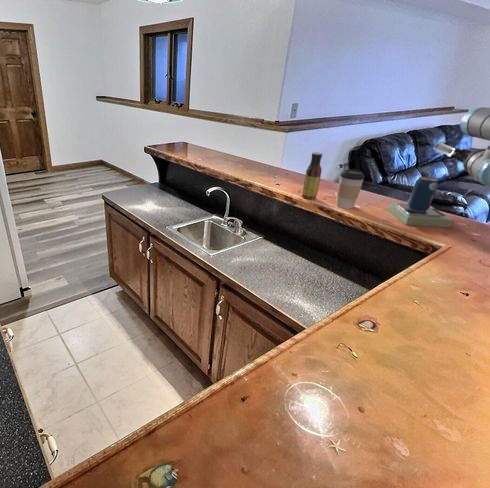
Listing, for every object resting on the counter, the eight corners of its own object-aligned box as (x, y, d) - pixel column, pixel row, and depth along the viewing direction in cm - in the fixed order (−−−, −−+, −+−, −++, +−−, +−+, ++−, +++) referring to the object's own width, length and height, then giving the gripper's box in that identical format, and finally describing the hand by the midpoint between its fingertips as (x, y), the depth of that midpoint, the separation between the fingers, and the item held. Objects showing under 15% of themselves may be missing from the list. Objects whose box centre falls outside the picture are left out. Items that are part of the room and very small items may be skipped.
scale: (428, 212, 141) (430, 205, 140) (449, 227, 128) (452, 219, 127) (388, 210, 143) (391, 203, 142) (405, 224, 130) (408, 216, 128)
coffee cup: (350, 211, 142) (359, 174, 135) (328, 205, 148) (337, 170, 141) (360, 206, 147) (370, 171, 140) (339, 200, 153) (347, 166, 146)
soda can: (431, 212, 130) (443, 181, 125) (411, 211, 131) (422, 180, 126) (422, 206, 137) (433, 176, 131) (403, 205, 138) (413, 175, 132)
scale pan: (424, 206, 139) (425, 205, 138) (440, 217, 129) (440, 215, 128) (395, 205, 140) (395, 203, 140) (408, 215, 130) (408, 213, 130)
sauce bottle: (306, 194, 160) (314, 150, 151) (318, 198, 156) (328, 153, 147) (298, 197, 156) (306, 152, 148) (311, 201, 152) (320, 155, 143)
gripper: (427, 160, 103) (417, 150, 120) (524, 193, 95) (499, 177, 113) (443, 135, 99) (430, 129, 116) (546, 167, 92) (516, 155, 109)
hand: (464, 152), depth 115 cm, fingers open, 13 cm apart
